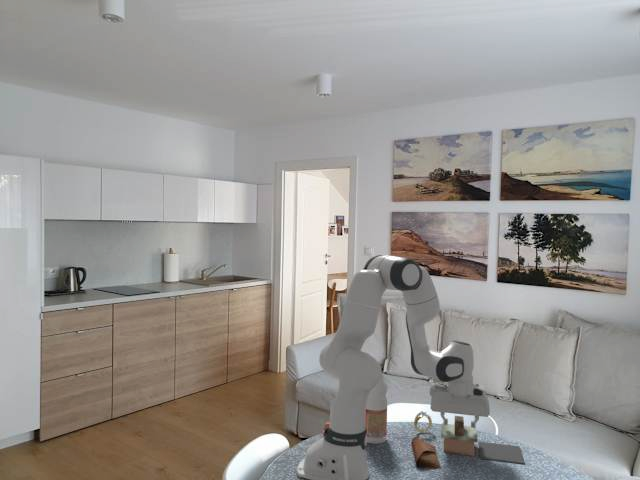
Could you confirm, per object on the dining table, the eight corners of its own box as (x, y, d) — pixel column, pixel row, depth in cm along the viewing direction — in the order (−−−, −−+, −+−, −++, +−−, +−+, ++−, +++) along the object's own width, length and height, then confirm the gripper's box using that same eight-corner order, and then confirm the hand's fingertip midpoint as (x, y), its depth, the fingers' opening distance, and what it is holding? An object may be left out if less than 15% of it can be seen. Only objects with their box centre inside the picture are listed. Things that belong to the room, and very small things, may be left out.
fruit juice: (378, 446, 175) (380, 367, 175) (355, 440, 180) (357, 363, 180) (390, 438, 183) (392, 362, 183) (368, 432, 188) (370, 358, 188)
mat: (480, 458, 167) (480, 457, 167) (478, 442, 181) (478, 441, 181) (525, 464, 164) (525, 463, 164) (519, 447, 177) (519, 446, 177)
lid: (441, 437, 171) (441, 424, 171) (441, 425, 183) (442, 412, 183) (477, 442, 168) (477, 428, 168) (475, 429, 180) (476, 416, 180)
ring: (415, 434, 186) (416, 413, 186) (412, 431, 190) (412, 410, 190) (433, 433, 188) (433, 412, 188) (429, 430, 191) (430, 409, 191)
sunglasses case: (443, 469, 159) (432, 450, 159) (423, 479, 159) (413, 460, 159) (435, 446, 177) (425, 429, 177) (417, 455, 177) (408, 438, 177)
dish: (443, 451, 172) (444, 437, 172) (444, 440, 182) (444, 426, 182) (473, 455, 170) (474, 440, 170) (472, 443, 179) (473, 430, 179)
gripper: (429, 386, 175) (428, 425, 175) (490, 392, 170) (489, 432, 170) (430, 381, 181) (429, 419, 181) (489, 387, 176) (488, 425, 176)
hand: (459, 425), depth 176 cm, fingers open, 8 cm apart
